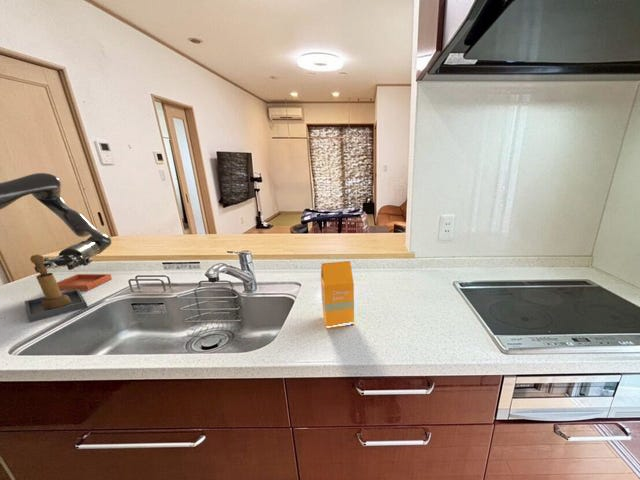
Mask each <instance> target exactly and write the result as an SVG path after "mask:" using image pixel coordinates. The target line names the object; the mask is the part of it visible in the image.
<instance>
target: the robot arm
mask: <svg viewBox="0 0 640 480" xmlns="http://www.w3.org/2000/svg"><path fill="white" fill-rule="evenodd" d="M61 187H62V185H61V180H60V179H59V178H58V177H57V176H55V175H54V174H51V173H47V172H35V173H31V174H28V175H24V176H21V177H18V178H14V179H10V180H6V181H3V182H0V211H1V210H3V209H5V208H7V207H8V206H10V205H11V204H13V203H15V202H16V201H19V200H20V199H21V198H23V197H26V196H29V195H32V197H34V198H35V199H36V200H37V201H38V202H40V203H41V204H42V205H44V206H45V207H46V208H47V209H48V210H50V211H51V212H52V213H53V214H55V216H57V217H58V218H59V219H60V220H61V221H62V222H63V223H64V224H65V225H66V226H67V227H68V228H69V229H70V231H71V232H72V233H73V234H74V235H75V236H77V237H78V238H85V237H88V238H87V239H86V240H82V241H80V242H77V243H75V244H72V245H70V246H68V247H65V248H64V249H62V250H61V251H60V252H59V253H58V255H57V256H56V257H51V258H49V257H44V263H43V265H44V266H45V267H47V270H48V269H59V268H61V267H64V268H65V267H67V270H69V271H72V270H74V269H75V268H79V267H81V266H83V267H86V266H88V265H89V264H91V263H92V262H93V258H94V257H97V256H98V255H97V254H99V255H100V254H102V253H104V251H105V250H107V249H108V248H109V247H110V246H111V245H112V244H113V243H112V242H113V241H112V238H111V237H110V236H109V235H108V234H106V233H104V232H103V231H101V230H99V229H98V228H97V227H95V226H94V225H93V224H92V223H91V222H90V221H89V220H88V219H87V218H86V216H84V215H83V214H82V213H81V212H79V211H77V210H76V209H74V208H72V207H70V206H69V205H68V204H67V203H66V202H65V200H64V199H63V197H62V196H61V194H62V193H61V192H62V191H61V189H62V188H61ZM96 255H97V256H96ZM37 268H38V267H37V265H35V264H34V271H35V272H36V273H37V274H38V273H39V272H38V271H37ZM39 274H40V273H39Z"/></svg>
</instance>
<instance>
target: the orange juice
mask: <svg viewBox="0 0 640 480" xmlns="http://www.w3.org/2000/svg"><path fill="white" fill-rule="evenodd" d="M353 278H354V277H353V270H352V264H351V260H348V261H336V262H335V261H334V262H323V263H321V270H320V285H321V286H320V287H321V303H322V305H321V306H322V319H323V322H324V324H325V323H326V325H325V329H326V330H329V329H337V328H343V327H342V326H338V327H331V328H326V326H333V325H338V324H343V323H349V322H354V323H355V293H354V292H355V287H354V284H355V283H354V279H353ZM323 316H324V318H323ZM324 320H325V321H324Z"/></svg>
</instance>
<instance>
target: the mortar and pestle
mask: <svg viewBox="0 0 640 480" xmlns="http://www.w3.org/2000/svg"><path fill="white" fill-rule="evenodd" d="M44 258H45V257H44V256H43V255H41V254H33V255H31V256H30V262H31V263H32V264H34V266H35V265H37V267H38V268H37V271H38V272H39V274H38V275H36V276H35V278H36V280H37V283H38V284H39V286H40V289H41V290H42V294H43V296H44V297H45V299H44V300H43V301H42V302H41V303H42V305H43V308H44V309H55V308H59V307H63V306H65V305H68V304H69V303H71V301H70V299H69V296H67V295H64V294H61V293H62V292H61V291H62V290H60V289H59V287H58V285H57V282H58V281H57V280H56V277H55V275H54V273H53V272H48V269H47V267H48V266H46V267H45V266H44V265H43V263H44Z"/></svg>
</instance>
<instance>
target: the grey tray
mask: <svg viewBox="0 0 640 480" xmlns="http://www.w3.org/2000/svg"><path fill="white" fill-rule="evenodd" d="M61 294H64V295H67V296H69V299H70V301H71V303H69V304H68V305H65V306H63V307H59V308H55V309H44V308H43V305H42V303H41V302H42V301H43V300H44V299H45V296H41V297H37V298H33V299H29V300H24V305H25V311H26V312H25V313H26V317H27V319H28V321H29V323H33V322H37V321H40V320H44V319H49V318H52V317H56V316H60V315H63V314H67V313H71V312H74V311H78V310H82V309H86V308H89V306H88V304H87V301H86V299H85V298H84V296H83V294H82V292H81V290H79V289H76V290H67V291H64V292H61Z"/></svg>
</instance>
